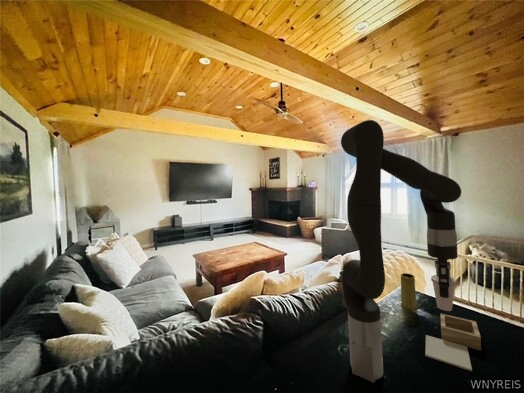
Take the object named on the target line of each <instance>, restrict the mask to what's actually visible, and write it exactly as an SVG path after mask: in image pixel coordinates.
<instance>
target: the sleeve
mask: <svg viewBox="0 0 524 393" xmlns="http://www.w3.org/2000/svg"><path fill="white" fill-rule="evenodd" d="M439 314H440V332H441V339H442V340H445V341H449V342H452V343H456V344H459V345H463V346H467V348H470V349H474V350H477V351H482V338H481V337H482V336H481V334H480V330H479V327H478V324H477V321H475V320H470V319H466V318H463V317H458V316H454V315H449V314H445V313H442V312H441V313H439Z"/></svg>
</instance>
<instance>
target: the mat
mask: <svg viewBox="0 0 524 393" xmlns="http://www.w3.org/2000/svg"><path fill="white" fill-rule="evenodd" d="M468 350H469V349H468V347H467V346H463V345H459V344H456V343H452V342H449V341H445V340H442V338H437V337H434V336H431V335H427V334H425V352H424V353H425V355H424V356H425V357H427V358H430V359H433V360H436V361H439V362H443V363H444V364H448V365H452V366H454V367H457V368H460V369H463V370H466V371H470V372H473V367H472V364H471V363H472V362H471V359H470V358H471V357H470V354H469V351H468Z"/></svg>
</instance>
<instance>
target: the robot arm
mask: <svg viewBox="0 0 524 393" xmlns="http://www.w3.org/2000/svg"><path fill="white" fill-rule="evenodd" d="M384 135H385V134H384V132H383V129H382V126H381V125H380V123H379V122H378V121H376V120H374V119H373V120H372V119H367V120H363V121H361V122H359V123H357V124H355V125H354V126H352V127H349V129H347V130H345V132H344V133H343V134H342V136H341V138H340V145H341V148H342V150H343V151H344V152H345V153H346V154H347V155H349V156H351V157H353V158H355V163H356V165H355V174H354V177H353V180H352V183H351V185H350V188H349V190H348V195H347V203H346V207H347V208H346V209H347V210H346V214H347V223H348V226H349V229H350V231H351V232H352V235H353V237H354V240H355V242H356V244H357V248H358V251H359V259H349V261H347V262H346V263H345V264H344V267H343V269H342V272H341V274H342V275H341V280H342V282H341V283H342V290H343V300H344V303H345V306H346V308H347V323H348V325H347V326H348V342H349V361H350V367H351V372H352V374H353V375H355V376H357V377H359V376H360V378H363V379H364V380H366V381H369V382H371V383H375V382H376V381H377V380H380V379H381V378H382V377H383V375H384V360H383V340H382V320H381V317H382V316H381V308H380V306H379V304H378V303H377V302H376V301H375V300H376V299H379V297H380V296H381V295H382V294H383V292H384V289H385V285H386V274H385V266H384V265H385V264H384V257H383V248H382V245H383V244H382V198H381V197H382V196H381V193H382V192H381V191H382V190H381V189H382V188H381V186H382V183H381V182H382V171H384V172H385V173H388V174H390V175H391V176H393V177H394V178H396V179H398V180H399V181H400V182H402V183H404V184H406V185H407V186H409V187H410V188H412V189H414V190H420V191H419V195H420V196H419V197H420V201H421V202H422V207H423V209H424V213H425V214H426V223H427V224H426V225H427V228H426V229H427V230H426V244H427V245H426V246H427V247H426V248H427V255H428V256H429V257H431V258H435V259H434V267H435V272H436V273H435V275H436V276H437V277H438V278H439V282H438V284H439V291H440V297H443V298H449V289H448V287H449V286H450V284H449V279H450V277H451V269H452V265H451V261H449V260H455V259H456V260H457V258H458V237H457V236H458V235H457V231H456V214H455V213H454V211H453V210H450V209H448V208H446V207H444V205H443V203H445V204H448V203H453V202H456V201H457V200H459V199H460V198H461V196H462V188H461V186H460V185H459V183H458V182H457V181H456V180H454V179H453V178H450V177H448V176H445V175H443V174H440V173H439V172H435V171H432V170H430V169H429V168H427V167H426V166H424V165H423V164H421V163H420V162H419V161H416V160H414V159H413V158H411V157H408V156H406V155H402V154H399V153H396V152H393V151H391V150H387V149H385V148H384V143H385V142H384V139H385V138H384V137H385V136H384ZM441 279H445V280H447V282H441Z"/></svg>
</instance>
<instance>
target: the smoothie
mask: <svg viewBox="0 0 524 393" xmlns="http://www.w3.org/2000/svg"><path fill="white" fill-rule="evenodd" d="M430 278H431V279H430V281H431V282H432V286H433V291H434V296H435V301H436V306H437V308H438V309H440V310H442V311H446V312H451V311H453V303H454V297H455V290H456V285H457V280H456V279H455V278H454V277H451V276H450V279H449V284H450V286H449V287H448V289H449V298H443V297H440V291H439V284H438V282H439V278H438V277H437V276H436V274H434V275H432V276H431V277H430ZM441 282H447V280H445V279H441Z"/></svg>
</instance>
